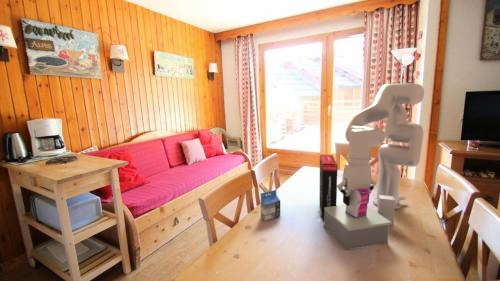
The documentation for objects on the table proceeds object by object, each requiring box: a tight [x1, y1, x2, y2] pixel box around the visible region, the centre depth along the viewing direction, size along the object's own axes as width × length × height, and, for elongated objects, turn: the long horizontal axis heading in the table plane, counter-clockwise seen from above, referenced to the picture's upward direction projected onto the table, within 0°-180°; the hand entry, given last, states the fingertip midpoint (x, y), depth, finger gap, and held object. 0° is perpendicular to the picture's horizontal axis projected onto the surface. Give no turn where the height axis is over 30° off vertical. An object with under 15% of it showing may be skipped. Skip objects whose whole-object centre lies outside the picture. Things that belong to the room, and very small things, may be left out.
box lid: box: [324, 204, 392, 231], centre depth 97 cm, size 18×17×1 cm
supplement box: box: [345, 189, 370, 218], centre depth 96 cm, size 6×6×12 cm
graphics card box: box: [319, 153, 338, 221], centre depth 115 cm, size 17×7×27 cm, turn 168°
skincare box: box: [376, 195, 396, 226], centre depth 106 cm, size 6×4×12 cm
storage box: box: [323, 211, 390, 251], centre depth 97 cm, size 18×16×8 cm
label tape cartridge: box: [260, 189, 281, 222], centre depth 112 cm, size 9×4×12 cm, turn 118°
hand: (355, 202), depth 96 cm, fingers open, 8 cm apart
